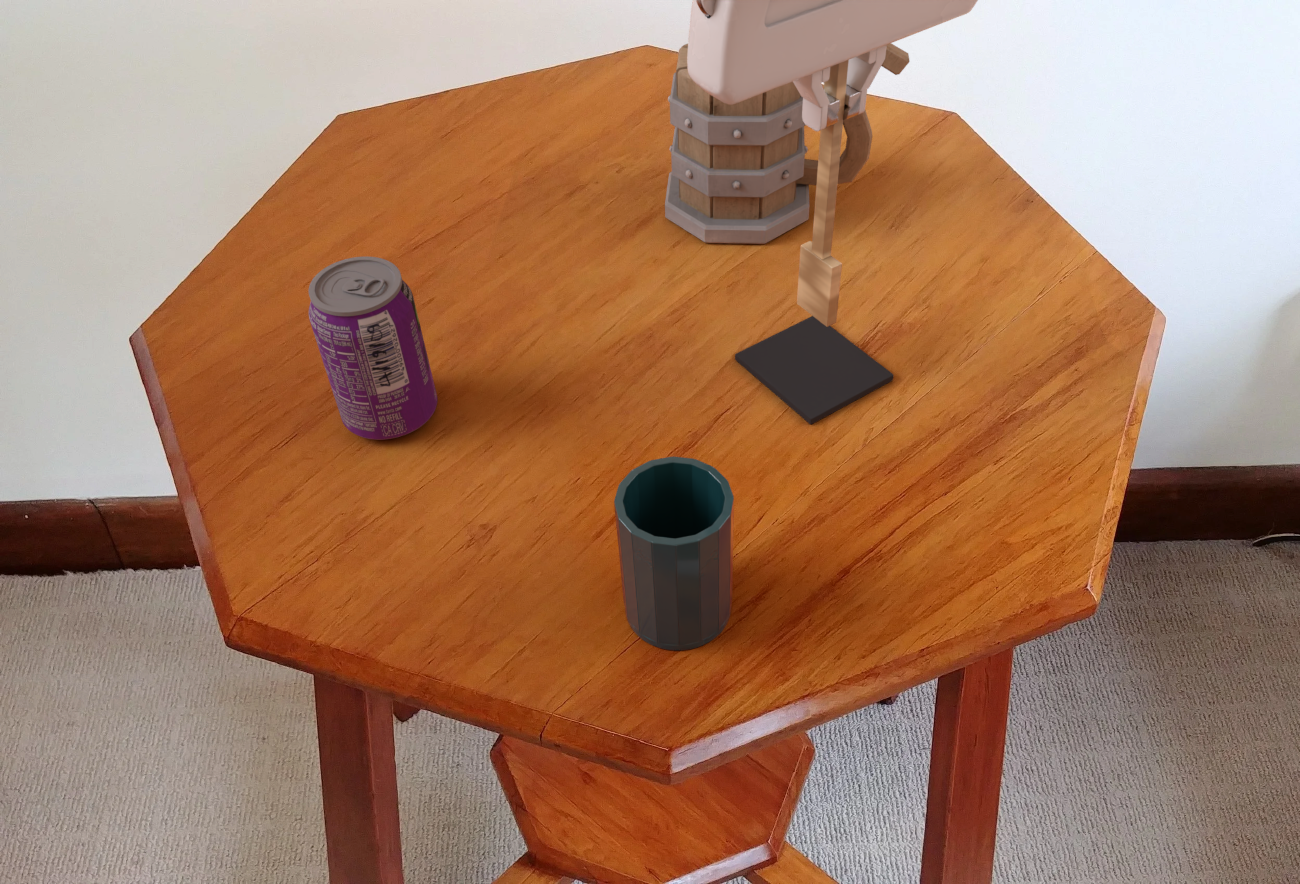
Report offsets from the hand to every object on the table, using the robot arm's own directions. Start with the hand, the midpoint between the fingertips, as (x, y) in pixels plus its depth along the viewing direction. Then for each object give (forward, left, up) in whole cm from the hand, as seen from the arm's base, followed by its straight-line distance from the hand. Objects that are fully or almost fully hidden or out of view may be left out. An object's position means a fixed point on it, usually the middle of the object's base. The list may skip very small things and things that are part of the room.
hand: (833, 119), depth 70 cm
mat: (0, 0, -21) cm, 21 cm away
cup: (-12, +21, -21) cm, 32 cm away
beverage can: (+15, +28, -21) cm, 38 cm away
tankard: (+19, -12, -21) cm, 31 cm away
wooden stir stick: (0, 0, -15) cm, 16 cm away
